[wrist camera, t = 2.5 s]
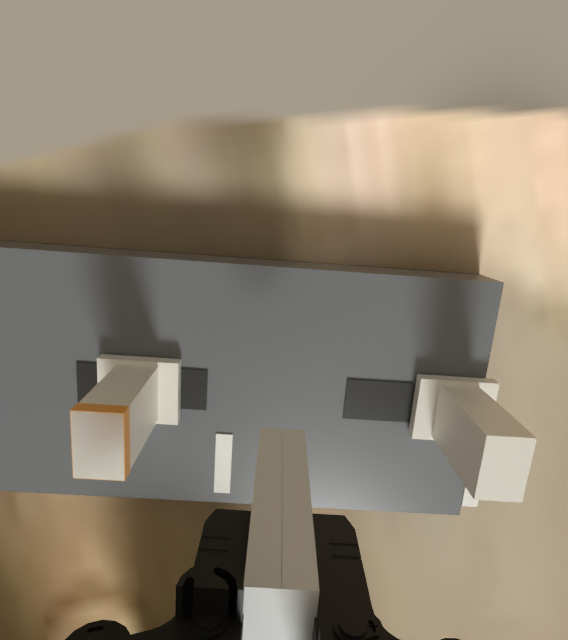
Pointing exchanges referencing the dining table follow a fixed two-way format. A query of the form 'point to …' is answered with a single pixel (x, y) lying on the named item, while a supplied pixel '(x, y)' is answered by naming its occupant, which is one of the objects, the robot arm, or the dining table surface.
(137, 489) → the panel
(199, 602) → the robot arm
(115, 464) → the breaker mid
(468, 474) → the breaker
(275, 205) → the dining table surface
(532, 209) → the dining table surface
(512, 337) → the dining table surface
